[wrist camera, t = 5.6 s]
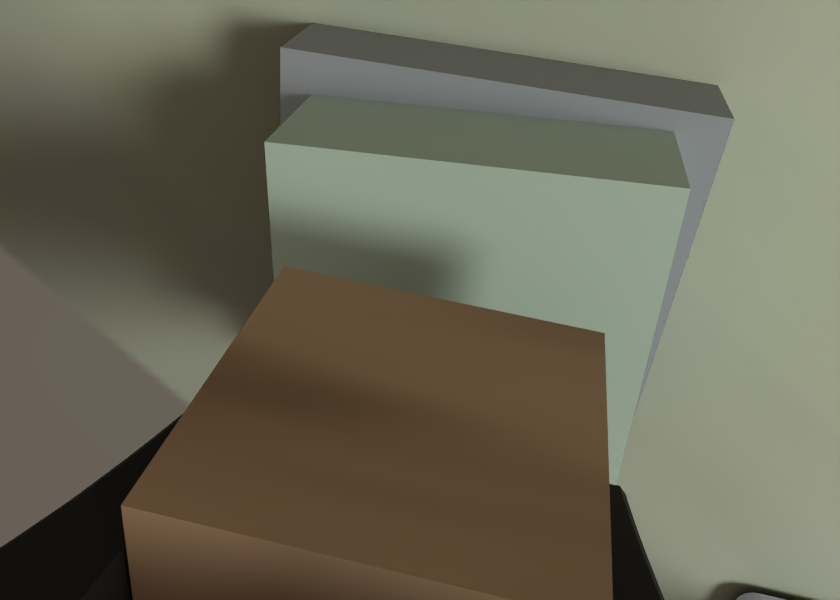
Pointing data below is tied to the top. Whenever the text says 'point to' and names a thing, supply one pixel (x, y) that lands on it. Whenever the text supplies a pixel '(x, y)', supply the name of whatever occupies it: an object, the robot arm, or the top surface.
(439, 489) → the walnut cube
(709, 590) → the top surface
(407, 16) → the top surface
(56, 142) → the top surface
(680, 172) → the top tile
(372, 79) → the base tile
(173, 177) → the top surface
